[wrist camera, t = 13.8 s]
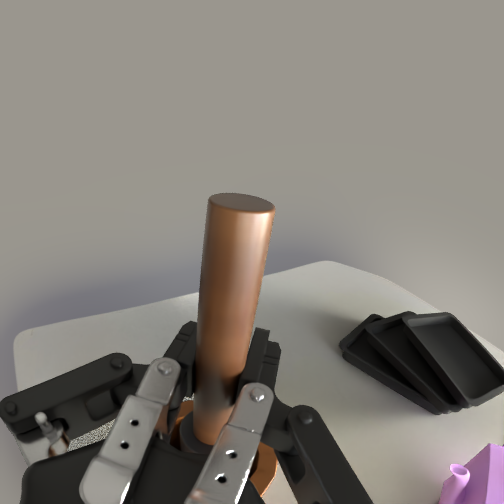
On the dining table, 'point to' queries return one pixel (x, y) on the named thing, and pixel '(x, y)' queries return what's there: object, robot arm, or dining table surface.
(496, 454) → the teapot
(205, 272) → the brush
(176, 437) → the brown cylindrical holder
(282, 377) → the dining table surface
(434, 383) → the tray
